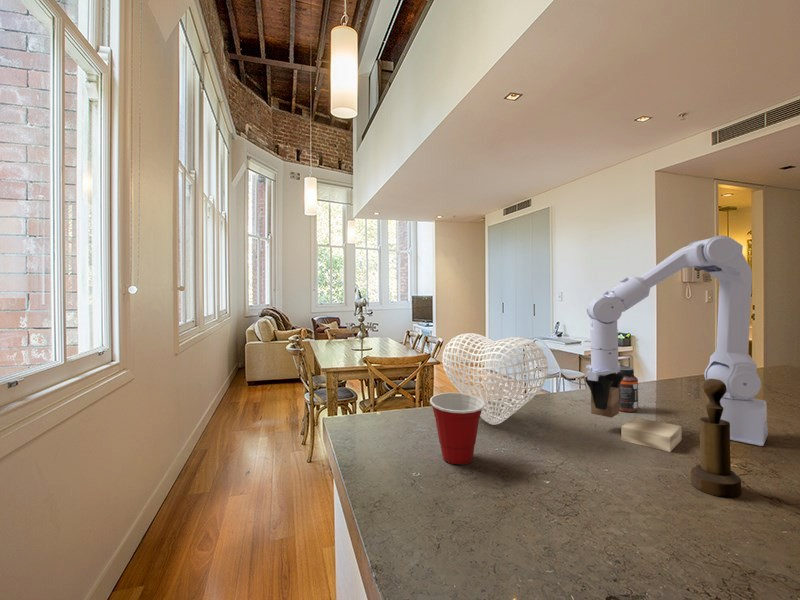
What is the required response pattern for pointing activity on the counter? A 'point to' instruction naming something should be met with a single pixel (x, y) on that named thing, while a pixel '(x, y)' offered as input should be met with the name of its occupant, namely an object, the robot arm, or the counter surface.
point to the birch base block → (651, 434)
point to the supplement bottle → (628, 390)
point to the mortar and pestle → (715, 448)
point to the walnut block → (608, 404)
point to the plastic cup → (457, 424)
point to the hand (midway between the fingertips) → (605, 406)
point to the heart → (490, 346)
